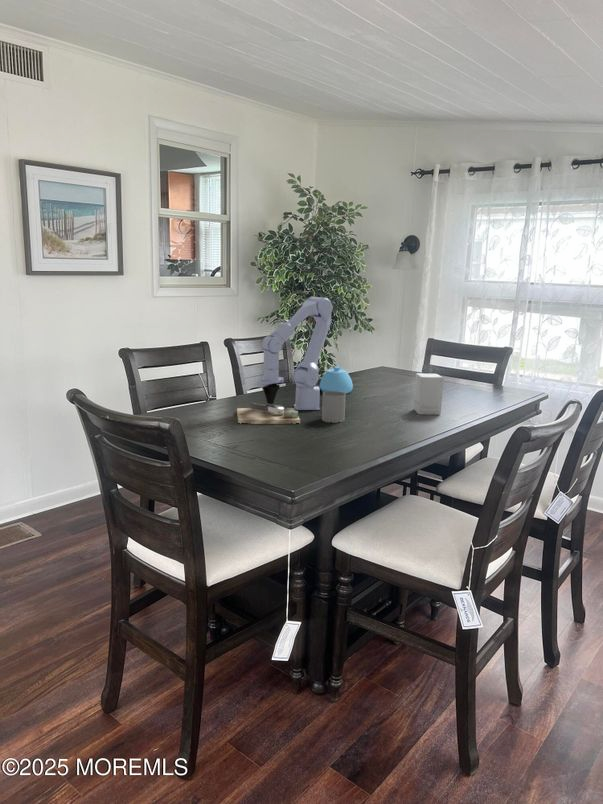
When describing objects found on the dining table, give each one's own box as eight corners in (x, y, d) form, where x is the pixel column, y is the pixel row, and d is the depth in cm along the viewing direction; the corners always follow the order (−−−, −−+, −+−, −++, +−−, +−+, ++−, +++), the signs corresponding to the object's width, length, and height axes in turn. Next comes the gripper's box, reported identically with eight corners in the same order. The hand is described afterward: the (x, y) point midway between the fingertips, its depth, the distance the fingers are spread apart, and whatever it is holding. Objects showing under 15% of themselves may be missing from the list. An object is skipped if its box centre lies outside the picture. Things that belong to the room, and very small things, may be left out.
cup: (328, 423, 216) (329, 396, 214) (317, 418, 223) (318, 392, 221) (348, 421, 220) (349, 394, 218) (337, 416, 227) (338, 390, 225)
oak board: (293, 411, 232) (294, 401, 232) (300, 423, 215) (300, 413, 214) (236, 412, 229) (236, 402, 228) (238, 424, 212) (238, 413, 211)
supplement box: (441, 415, 234) (444, 377, 230) (418, 414, 233) (421, 377, 230) (434, 409, 242) (437, 373, 239) (412, 409, 242) (415, 372, 239)
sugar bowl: (358, 391, 275) (359, 366, 272) (342, 396, 262) (343, 370, 260) (329, 387, 282) (330, 363, 280) (313, 392, 270) (314, 366, 268)
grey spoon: (287, 413, 222) (287, 406, 222) (277, 416, 217) (278, 409, 217) (256, 407, 229) (256, 401, 229) (247, 410, 224) (247, 404, 224)
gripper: (273, 365, 235) (272, 398, 238) (251, 369, 223) (250, 405, 226) (288, 367, 231) (287, 401, 234) (266, 371, 219) (265, 407, 222)
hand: (270, 403), depth 230 cm, fingers closed
